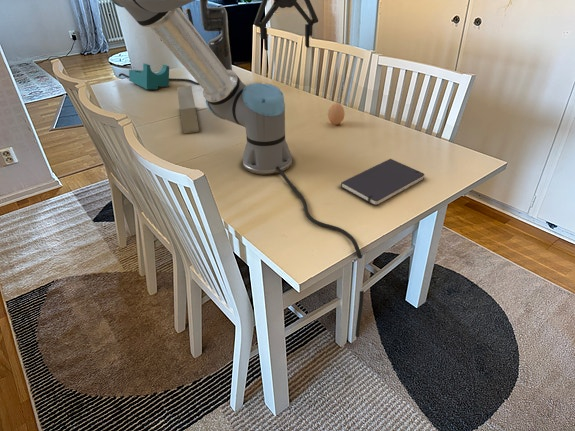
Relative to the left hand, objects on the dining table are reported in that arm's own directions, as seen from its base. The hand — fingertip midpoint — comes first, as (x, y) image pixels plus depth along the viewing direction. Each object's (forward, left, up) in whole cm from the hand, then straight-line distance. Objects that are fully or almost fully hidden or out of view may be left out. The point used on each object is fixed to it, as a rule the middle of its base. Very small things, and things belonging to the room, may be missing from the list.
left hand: (175, 41), depth 147 cm
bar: (+8, -5, -27) cm, 28 cm away
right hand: (+42, +15, +1) cm, 45 cm away
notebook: (+89, +4, -27) cm, 93 cm away
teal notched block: (-42, +9, -27) cm, 51 cm away
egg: (+53, +28, -27) cm, 66 cm away
